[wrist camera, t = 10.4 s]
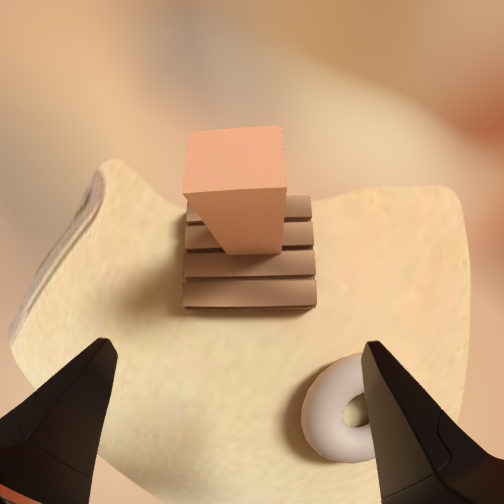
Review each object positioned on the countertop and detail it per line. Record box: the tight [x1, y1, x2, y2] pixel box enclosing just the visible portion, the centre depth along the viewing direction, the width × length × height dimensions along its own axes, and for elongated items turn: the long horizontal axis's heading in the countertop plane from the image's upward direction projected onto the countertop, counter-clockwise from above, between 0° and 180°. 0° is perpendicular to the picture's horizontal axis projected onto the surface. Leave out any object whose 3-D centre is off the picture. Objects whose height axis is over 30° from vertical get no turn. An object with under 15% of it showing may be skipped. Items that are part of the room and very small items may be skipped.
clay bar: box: [183, 126, 287, 255], centre depth 16 cm, size 3×4×11 cm
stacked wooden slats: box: [183, 196, 317, 310], centre depth 22 cm, size 9×10×2 cm
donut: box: [301, 353, 412, 463], centre depth 18 cm, size 10×4×10 cm
